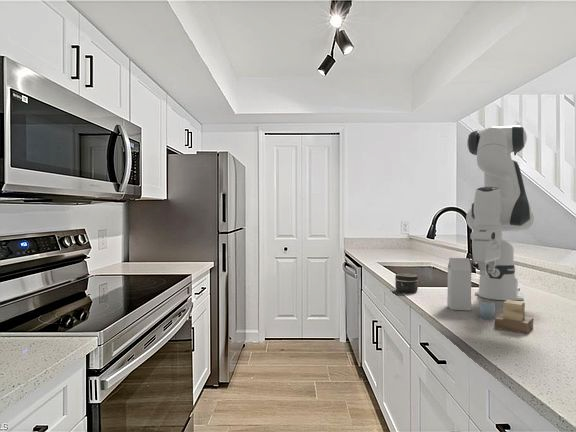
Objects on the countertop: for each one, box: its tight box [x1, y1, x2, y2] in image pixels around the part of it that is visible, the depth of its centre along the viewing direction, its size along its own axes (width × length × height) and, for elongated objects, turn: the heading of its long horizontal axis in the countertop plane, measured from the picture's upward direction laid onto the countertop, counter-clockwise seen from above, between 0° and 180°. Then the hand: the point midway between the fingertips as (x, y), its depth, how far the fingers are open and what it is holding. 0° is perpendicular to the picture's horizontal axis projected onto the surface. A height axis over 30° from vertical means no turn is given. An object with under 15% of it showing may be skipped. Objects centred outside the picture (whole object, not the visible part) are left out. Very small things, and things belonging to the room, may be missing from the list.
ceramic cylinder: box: [478, 301, 496, 320], centre depth 145 cm, size 5×5×5 cm
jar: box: [394, 273, 419, 294], centre depth 192 cm, size 10×10×8 cm
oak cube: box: [502, 300, 526, 321], centre depth 132 cm, size 5×5×5 cm
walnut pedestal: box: [494, 313, 534, 334], centre depth 132 cm, size 9×9×3 cm
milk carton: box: [446, 257, 472, 311], centre depth 159 cm, size 7×7×19 cm
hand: (487, 274), depth 144 cm, fingers open, 8 cm apart
